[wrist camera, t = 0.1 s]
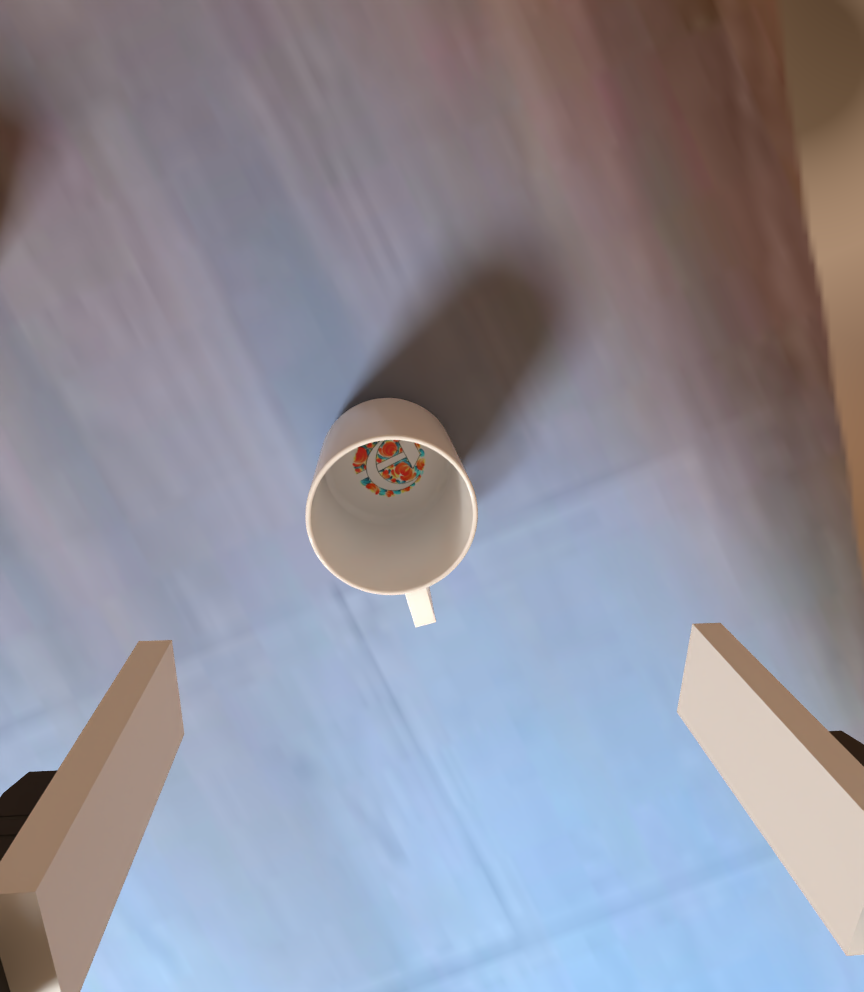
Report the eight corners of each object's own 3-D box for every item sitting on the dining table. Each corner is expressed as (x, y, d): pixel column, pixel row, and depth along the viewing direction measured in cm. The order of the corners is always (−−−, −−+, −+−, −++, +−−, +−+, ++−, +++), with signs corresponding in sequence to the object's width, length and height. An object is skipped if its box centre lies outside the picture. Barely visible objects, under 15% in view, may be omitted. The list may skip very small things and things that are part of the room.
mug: (303, 413, 42) (281, 461, 31) (435, 378, 42) (456, 414, 31) (355, 572, 46) (351, 661, 35) (474, 540, 46) (505, 620, 35)
